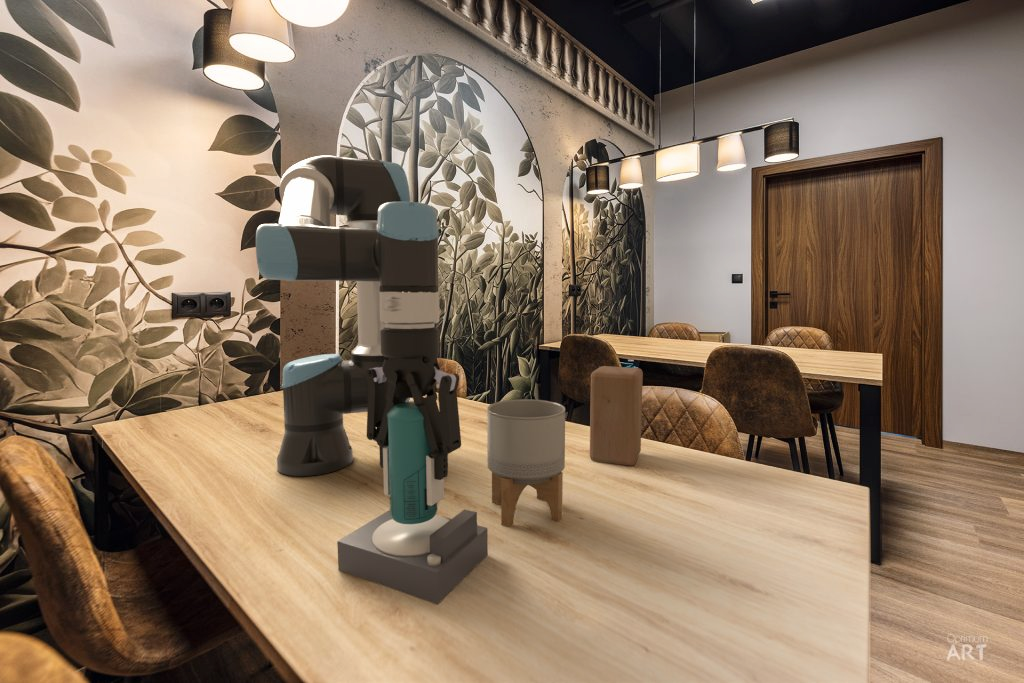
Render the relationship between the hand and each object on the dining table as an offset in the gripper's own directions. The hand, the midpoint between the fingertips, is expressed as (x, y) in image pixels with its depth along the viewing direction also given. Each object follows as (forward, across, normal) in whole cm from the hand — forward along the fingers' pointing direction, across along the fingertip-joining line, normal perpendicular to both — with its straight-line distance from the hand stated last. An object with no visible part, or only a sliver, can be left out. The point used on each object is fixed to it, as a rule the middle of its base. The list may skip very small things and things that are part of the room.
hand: (413, 495), depth 64 cm
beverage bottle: (+4, 0, 0) cm, 4 cm away
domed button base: (+9, 0, 0) cm, 9 cm away
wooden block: (+10, +14, +54) cm, 57 cm away
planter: (+10, +7, +21) cm, 24 cm away
